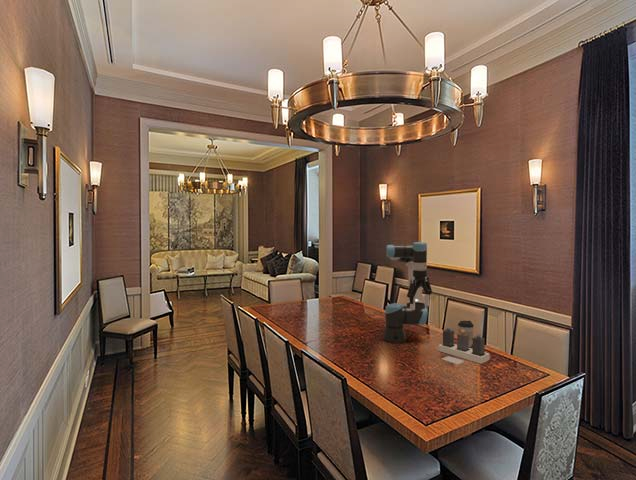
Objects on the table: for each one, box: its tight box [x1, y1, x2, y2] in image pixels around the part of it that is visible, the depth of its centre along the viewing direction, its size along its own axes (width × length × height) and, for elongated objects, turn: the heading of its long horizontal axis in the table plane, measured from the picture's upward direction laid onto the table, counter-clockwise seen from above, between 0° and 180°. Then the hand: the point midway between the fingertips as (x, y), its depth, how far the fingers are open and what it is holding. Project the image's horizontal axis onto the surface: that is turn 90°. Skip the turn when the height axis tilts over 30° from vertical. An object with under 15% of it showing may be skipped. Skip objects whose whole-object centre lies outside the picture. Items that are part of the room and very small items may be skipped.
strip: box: [437, 325, 491, 365], centre depth 200 cm, size 26×9×15 cm, turn 39°
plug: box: [456, 330, 470, 352], centre depth 200 cm, size 4×4×14 cm
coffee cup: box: [457, 320, 475, 348], centre depth 217 cm, size 9×9×15 cm
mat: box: [441, 355, 465, 365], centre depth 193 cm, size 10×7×1 cm
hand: (419, 307), depth 196 cm, fingers open, 13 cm apart
